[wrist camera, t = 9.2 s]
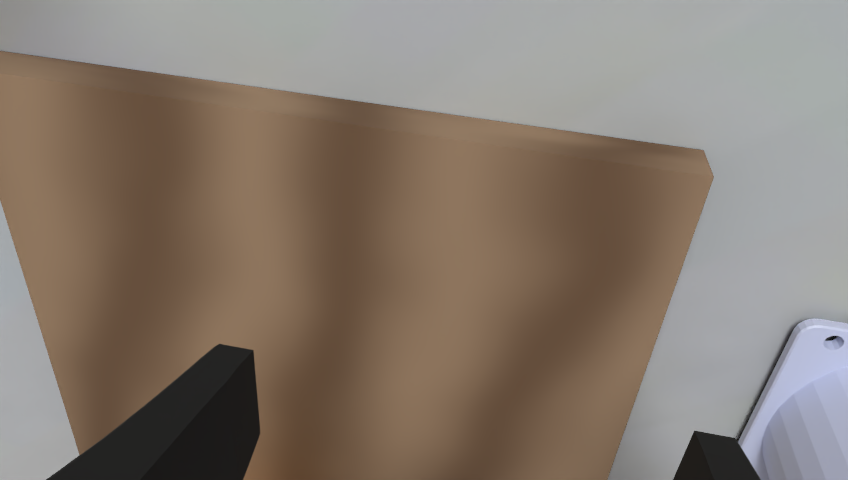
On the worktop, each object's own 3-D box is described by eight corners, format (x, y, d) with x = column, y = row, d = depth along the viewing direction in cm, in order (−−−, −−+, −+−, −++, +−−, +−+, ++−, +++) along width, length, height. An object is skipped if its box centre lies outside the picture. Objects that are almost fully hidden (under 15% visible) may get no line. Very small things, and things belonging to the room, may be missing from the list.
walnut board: (703, 150, 18) (713, 177, 16) (540, 638, 32) (539, 672, 30) (-3, 50, 20) (-41, 67, 19) (134, 549, 34) (118, 578, 32)
